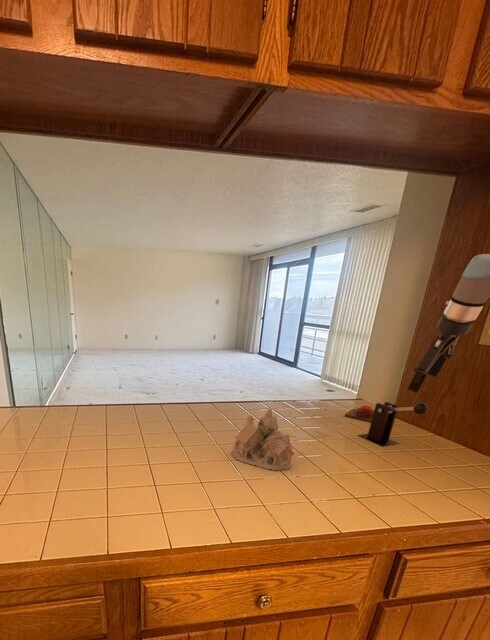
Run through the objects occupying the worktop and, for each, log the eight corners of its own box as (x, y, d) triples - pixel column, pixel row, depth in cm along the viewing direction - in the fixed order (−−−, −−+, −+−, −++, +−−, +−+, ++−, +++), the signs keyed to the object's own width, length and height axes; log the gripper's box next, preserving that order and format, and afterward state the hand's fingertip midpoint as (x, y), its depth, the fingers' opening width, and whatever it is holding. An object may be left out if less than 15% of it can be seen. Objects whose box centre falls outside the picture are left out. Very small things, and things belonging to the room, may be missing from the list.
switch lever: (431, 413, 104) (430, 401, 104) (423, 414, 103) (422, 402, 102) (386, 414, 117) (385, 403, 117) (378, 415, 116) (378, 404, 116)
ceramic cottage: (227, 447, 112) (234, 404, 105) (275, 448, 114) (285, 406, 107) (241, 474, 98) (251, 426, 92) (296, 474, 100) (309, 427, 93)
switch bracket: (398, 446, 117) (410, 407, 112) (381, 449, 114) (393, 410, 109) (372, 435, 126) (382, 399, 120) (356, 438, 123) (365, 401, 117)
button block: (383, 420, 141) (385, 411, 139) (376, 426, 134) (379, 417, 132) (351, 413, 148) (353, 404, 147) (344, 418, 141) (346, 409, 140)
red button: (372, 411, 140) (373, 407, 139) (369, 413, 137) (370, 409, 136) (361, 409, 142) (362, 405, 142) (358, 411, 139) (359, 407, 139)
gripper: (460, 302, 103) (427, 364, 117) (423, 325, 92) (391, 391, 106) (490, 309, 99) (451, 373, 113) (455, 335, 88) (417, 402, 102)
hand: (422, 382), depth 109 cm, fingers open, 13 cm apart
